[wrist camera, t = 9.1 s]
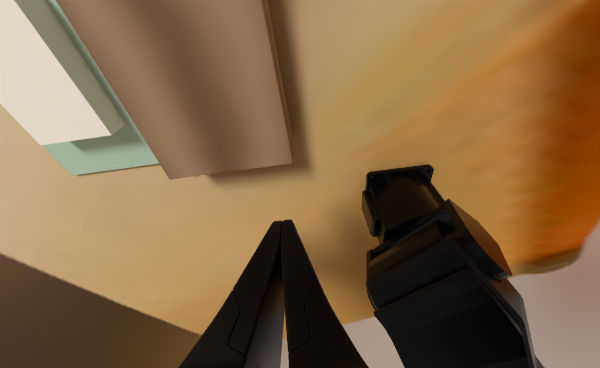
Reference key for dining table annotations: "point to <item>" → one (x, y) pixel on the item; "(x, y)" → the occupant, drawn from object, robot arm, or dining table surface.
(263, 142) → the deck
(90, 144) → the mat
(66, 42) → the white block
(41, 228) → the dining table surface
